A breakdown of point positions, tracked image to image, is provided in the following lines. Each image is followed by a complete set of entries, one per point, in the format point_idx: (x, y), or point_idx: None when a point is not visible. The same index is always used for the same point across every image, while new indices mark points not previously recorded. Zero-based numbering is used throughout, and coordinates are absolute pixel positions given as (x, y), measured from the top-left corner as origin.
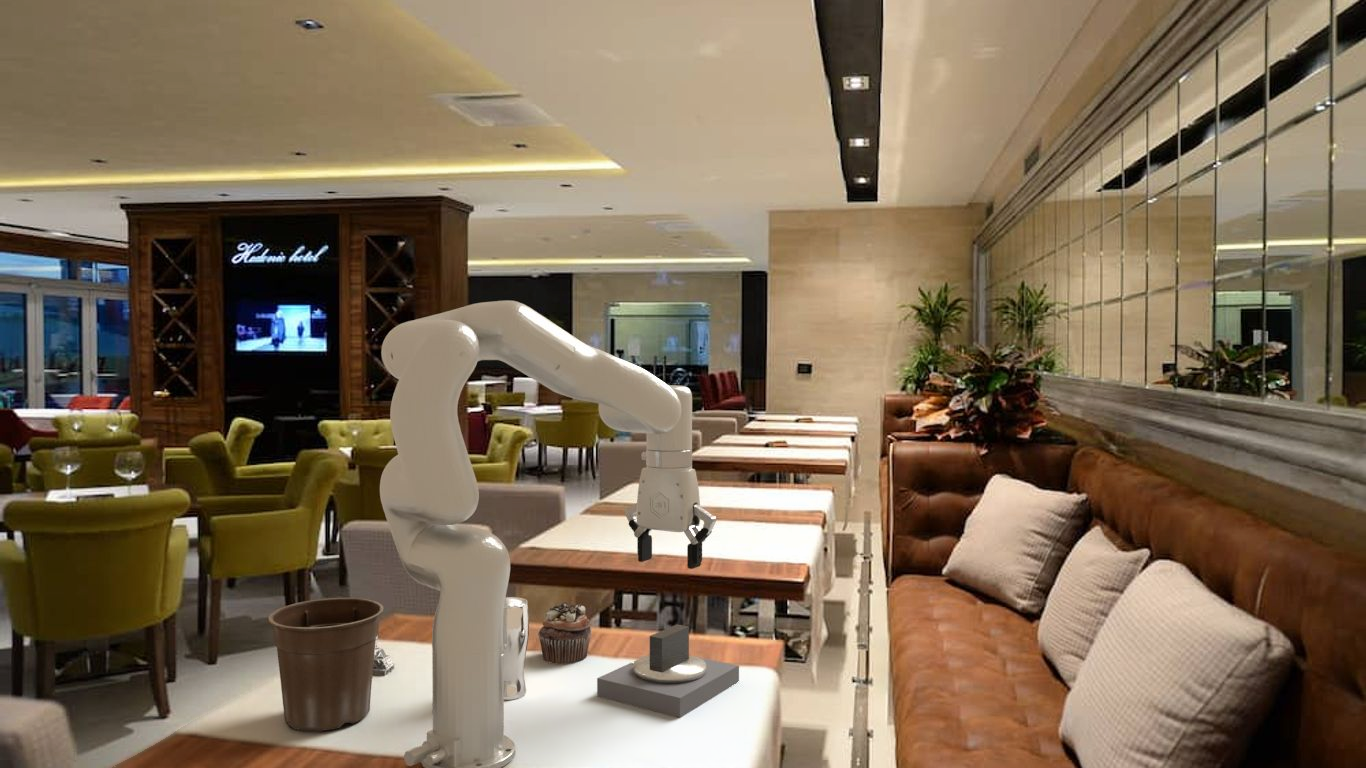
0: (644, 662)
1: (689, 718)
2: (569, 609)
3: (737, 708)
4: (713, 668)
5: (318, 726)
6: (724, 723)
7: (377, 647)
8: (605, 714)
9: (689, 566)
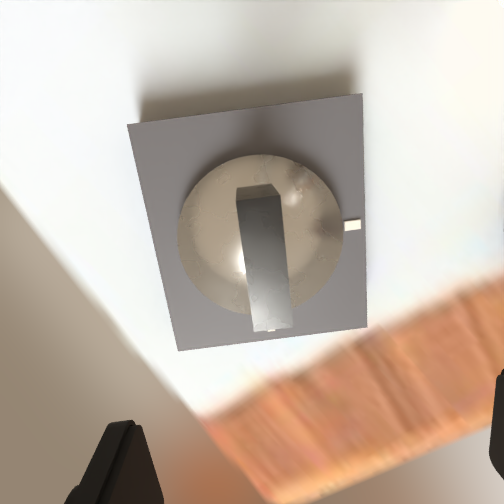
0: (314, 213)
1: (124, 136)
2: None
3: (98, 237)
4: (203, 308)
5: None
6: (60, 162)
7: None
8: (266, 31)
9: (114, 428)
